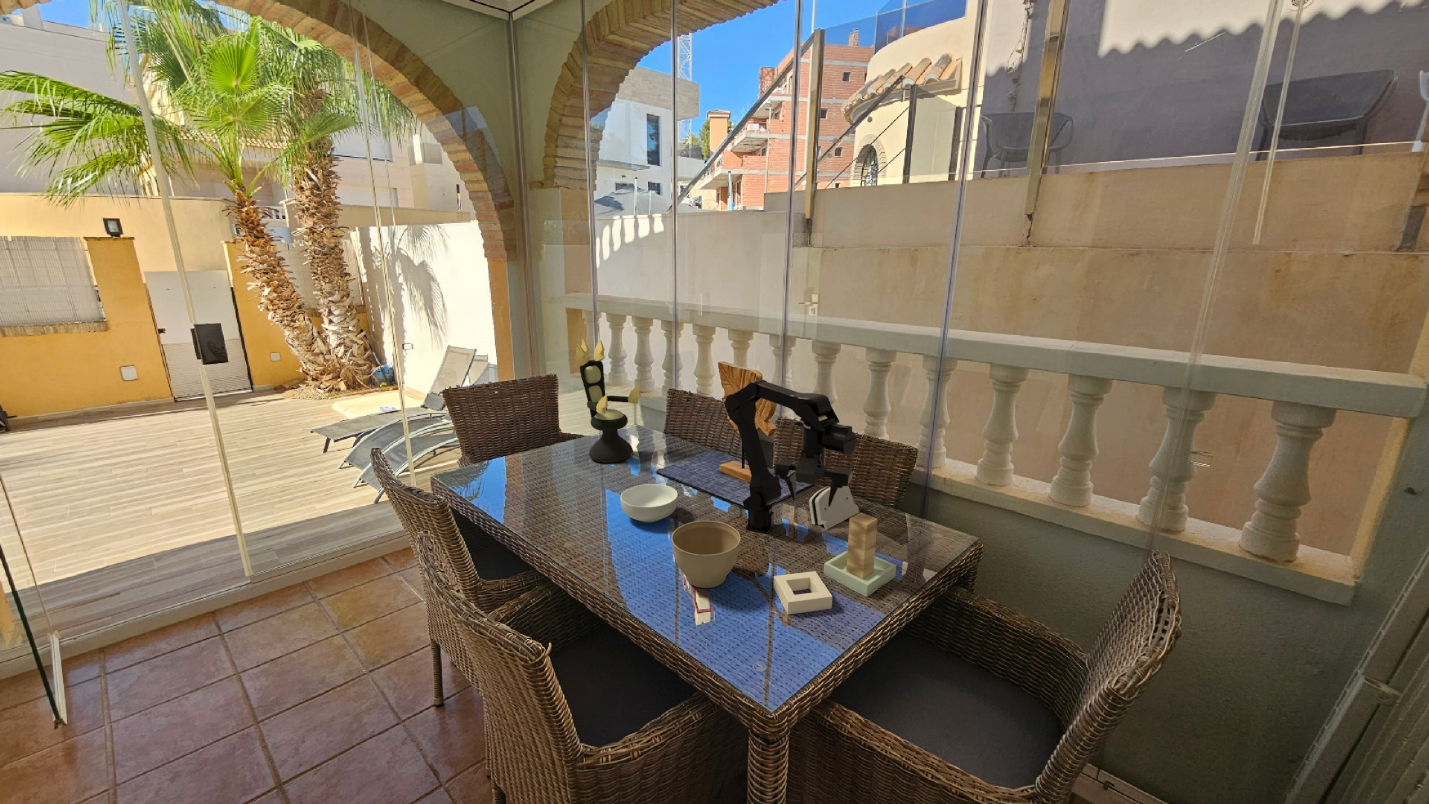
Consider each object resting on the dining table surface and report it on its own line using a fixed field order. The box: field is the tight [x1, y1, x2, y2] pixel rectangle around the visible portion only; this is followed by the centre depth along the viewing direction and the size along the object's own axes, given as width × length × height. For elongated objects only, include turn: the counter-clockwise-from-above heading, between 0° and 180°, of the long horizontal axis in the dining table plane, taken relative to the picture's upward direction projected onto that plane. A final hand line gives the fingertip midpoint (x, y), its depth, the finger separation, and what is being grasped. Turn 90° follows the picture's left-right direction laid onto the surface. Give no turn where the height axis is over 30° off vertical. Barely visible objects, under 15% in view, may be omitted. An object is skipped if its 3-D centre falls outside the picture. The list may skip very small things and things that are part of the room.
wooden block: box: [846, 512, 878, 580], centre depth 128 cm, size 4×4×14 cm
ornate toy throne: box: [574, 338, 642, 464], centre depth 204 cm, size 19×22×45 cm
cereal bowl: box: [619, 483, 679, 523], centre depth 160 cm, size 17×17×7 cm
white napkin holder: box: [808, 485, 860, 530], centre depth 159 cm, size 17×5×10 cm, turn 132°
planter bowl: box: [671, 520, 741, 589], centre depth 128 cm, size 16×16×11 cm
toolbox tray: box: [823, 549, 897, 598], centre depth 130 cm, size 12×12×3 cm
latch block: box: [773, 570, 833, 615], centre depth 121 cm, size 10×10×3 cm
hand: (811, 502), depth 139 cm, fingers open, 9 cm apart
